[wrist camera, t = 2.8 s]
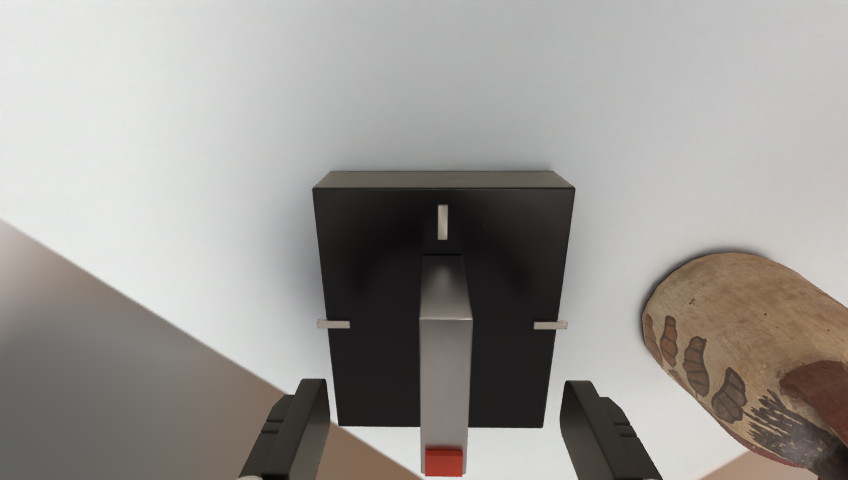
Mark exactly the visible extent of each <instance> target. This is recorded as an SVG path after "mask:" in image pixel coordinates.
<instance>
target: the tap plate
mask: <svg viewBox="0 0 848 480" xmlns="http://www.w3.org/2000/svg"><path fill="white" fill-rule="evenodd" d="M312 193H313V202H314V211H315V220H316V229H317V238H318V247H319V256H320V265H321V274H322V283H323V292H324V301H325V310H326V319H318V320H317V325H318V328H328V337H329V346H330V355H331V364H332V373H333V381H334V390H335V399H336V408H337V417H338V425H339V426H365V427H420V344H419V313H420V293H421V274H422V257H423V256H462V258H463V264H464V270H465V275H466V281H467V287H468V293H469V299H470V305H471V310H472V316H473V329H472V351H471V373H470V394H469V416H468V427H470V428H543V423H544V416H545V408H546V401H547V394H548V386H549V379H550V372H551V364H552V357H553V350H554V343H555V335H556V329H567V321H566V320H558V313H559V306H560V299H561V291H562V284H563V277H564V270H565V262H566V255H567V248H568V240H569V233H570V226H571V218H572V211H573V204H574V197H575V187H574V186H572V185H571V184H570V183H568V182H567V181H566V180H564V179H563V178H562V177H561V176H559V175H558V174H557V173H555V172H554V171H331V172H329V173H328V174H327V175H326V176H325V177H324V178H323V179H322V180H321V181H320V182H318V183H317V184H316V185H315V186H314V187H313V188H312Z"/></svg>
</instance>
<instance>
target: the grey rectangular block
mask: <svg viewBox="0 0 848 480" xmlns="http://www.w3.org/2000/svg"><path fill="white" fill-rule="evenodd" d="M472 329H473V316H472V310H471V305H470V299H469V293H468V287H467V281H466V275H465V270H464V264H463V258H462V256H423V257H422V274H421V293H420V313H419V344H420V427H421V473H423V474H425V476H444V477H462V474H465V473H466V460H467V438H468V416H469V394H470V373H471V351H472Z"/></svg>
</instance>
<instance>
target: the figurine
mask: <svg viewBox="0 0 848 480" xmlns="http://www.w3.org/2000/svg"><path fill="white" fill-rule="evenodd" d="M642 321H643V333H644V339H645V343H646V345H647V347H648V349H649V351H650V353H651V354H652V356H653V357H654V359H655V360H656V361H657V363H658V364H659V365H660V366H661V368H662V369H663V370H664V371H665V372H666V373H667V374H668V375H669V376H670V377H671V378H672V379H673V380H675V381H676V382H677V383H678V384H679V385H680V386H681V387H683V388H684V389H685V390H686V391H687V392H688V393H689V394H691V395H692V396H693V397H694V398H695V400H696V401H697V402H698V403H699V404H700V405H701V406H702V407H703V408H704V409H705V410H706V411H707V412H708V413H709V414H710V415H711V416H712V417H713V418H714V419H715V420H716V421H717V422H718V423H719V424H720V425H721V426H722V427H723V428H724V429H725V430H726V431H727V432H728V433H729V434H730V435H731V436H732V437H733V438H734V439H736V440H737V441H738V442H739V443H740V444H742V445H743V446H745V447H746V448H748V449H750V450H751V451H753V452H755V453H757V454H759V455H761V456H764V457H766V458H769V459H771V460H774V461H777V462H779V463H782V464H785V465H789V466H793V467H800V468H806V469H808V470H809V471H811V472H813V473H814V474H816V475H817V476H819V477H818V480H848V308H846V307H845V306H844V305H842V304H841V303H839V302H838V301H836V300H835V299H833V298H832V297H830V296H829V295H828V294H826V293H825V292H823V291H822V290H820V289H819V288H818V287H816V286H815V285H813V284H812V283H810V282H809V281H808V280H806V279H805V278H804V277H802V276H801V275H800V274H798V273H797V272H795V271H793V270H791V269H790V268H788V267H785V266H783V265H781V264H779V263H776V262H774V261H772V260H769V259H767V258H764V257H760V256H756V255H752V254H744V253H735V252H728V253H717V254H710V255H707V256H704V257H700V258H697V259H694V260H691V261H690V262H688V263H687V264H685V265H683V266H682V267H680V268H679V269H677V270H675V271H674V272H672V273H671V274H670V275H669V276H668V277H667V278H666V279H665V280H664V281H663V282H662V283H661V284H659V285H658V286H657V288H656V289H655V291H654V293H653V294H652V296H651V297H650V299H649V301H648V302H647V304H646V307H645V309H644V312H643V314H642Z"/></svg>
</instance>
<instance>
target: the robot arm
mask: <svg viewBox="0 0 848 480" xmlns="http://www.w3.org/2000/svg"><path fill="white" fill-rule="evenodd" d="M329 427H330V409H329V400H328V392H327V383H326V380H325V379H302V380H301V381H300V384H299V386H298V388H297V391H296V393H295V395H284V396H283V397H282V398H281V399H280V400H279V401H278V402H277V403H276V404H275V405H274V406H273V407H272V409H271V412H270V414H269V416H268V418H267V420H266V423H265V424H264V426H263V428H262V430H261V434H259V437H258V438H257V440H256V442H255V445H254V447H253V449H252V451H251V453H250V455H249V457H248V459H247V461H246V463H245V465H244V467H243V469H242V471H241V474H240V475H239V477H238V479H236V480H315V477H316V474H317V471H318V467H319V464H320V460H321V457H322V454H323V450H324V446H325V443H326V439H327V436H328V432H329ZM560 428H561V433H562V437H563V439H564V442H565V445H566V447H567V450H568V453H569V456H570V458H571V461H572V464H573V466H574V469H575V472H576V474H577V477H578V480H663V479H662V477H661V475H660V474H659V472H658V470H657V468H656V467H655V465H654V463H653V462H652V460H651V458H650V456H649V455H648V453H647V451H646V450H645V448H644V446H643V445H642V443H641V441H640V439H639V438H638V437H637V434H636V433H635V431H634V429H633V427H632V426H630V422H629V421H628V419H627V417H626V415H625V414H624V412H623V410H622V409H621V408H620V407H619V406H618V405H617V404H615V403H614V402H613V401H612V400H611V399H610V398H609V397H599V395H598V393H597V391H596V389H595V387H594V386H593V384H592V382H591V381H575V380H567V381H566V382H565V385H564V391H563V398H562V405H561V411H560Z"/></svg>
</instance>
